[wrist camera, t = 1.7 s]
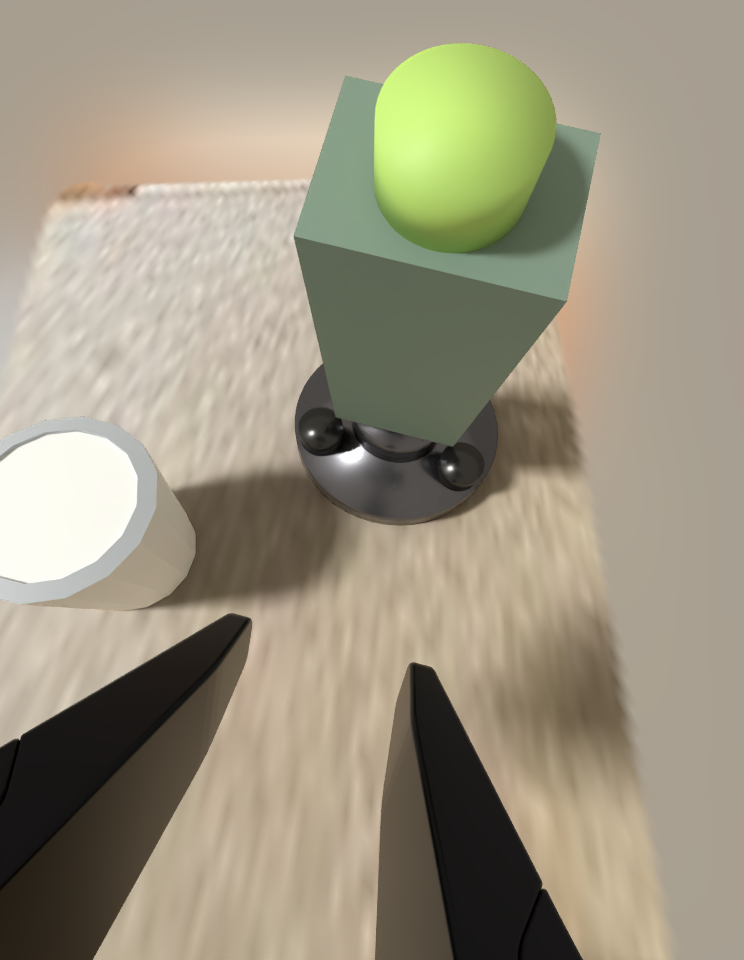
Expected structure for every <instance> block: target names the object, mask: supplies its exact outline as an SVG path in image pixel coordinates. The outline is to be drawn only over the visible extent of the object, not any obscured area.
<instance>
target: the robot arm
mask: <svg viewBox="0 0 744 960" xmlns="http://www.w3.org/2000/svg"><path fill="white" fill-rule="evenodd" d="M251 630H252V620H251V619H250V618H248V617H244V616H241V615H237V614H233V613H230V614H227V615H225V616H223V617H222V618H220V619H218V620H217V621H215V622H213V623H212V624H210V625H208V626H206V627H205V628H203V629H201V630H200V631H198V632H196V633H195V634H193V635H191V636H189V637H188V638H186V639H184V640H183V641H181V642H179V643H177V644H176V645H174V646H172V647H171V648H169V649H167V650H166V651H164V652H162V653H160V654H159V655H157V656H155V657H154V658H152V659H150V660H149V661H147V662H145V663H143V664H142V665H140V666H138V667H137V668H135V669H133V670H131V671H130V672H128V673H126V674H125V675H123V676H121V677H120V678H118V679H116V680H114V681H113V682H111V683H109V684H108V685H106V686H104V687H103V688H101V689H99V690H97V691H96V692H94V693H92V694H91V695H89V696H87V697H86V698H84V699H82V700H80V701H79V702H77V703H75V704H74V705H72V706H70V707H68V708H67V709H65V710H63V711H62V712H60V713H58V714H57V715H55V716H53V717H51V718H50V719H48V720H46V721H45V722H43V723H41V724H40V725H38V726H36V727H34V728H33V729H31V730H29V731H28V732H26V733H24V734H23V735H22V736H21V739H20V740H19V739H14V740H12V741H10V742H8V743H7V744H5V745H3V746H2V747H0V960H93V958H94V956H95V955H96V953H97V951H98V949H99V947H100V946H101V944H102V942H103V940H104V938H105V937H106V935H107V933H108V931H109V929H110V928H111V926H112V924H113V922H114V920H115V919H116V917H117V915H118V913H119V911H120V910H121V908H122V906H123V904H124V902H125V901H126V899H127V897H128V895H129V893H130V892H131V890H132V888H133V886H134V884H135V883H136V881H137V879H138V877H139V875H140V874H141V872H142V870H143V868H144V866H145V865H146V863H147V861H148V859H149V857H150V856H151V854H152V852H153V850H154V848H155V847H156V845H157V843H158V841H159V839H160V838H161V836H162V834H163V832H164V830H165V829H166V827H167V825H168V823H169V821H170V820H171V818H172V816H173V814H174V812H175V811H176V809H177V807H178V805H179V803H180V802H181V800H182V798H183V796H184V794H185V793H186V791H187V789H188V787H189V785H190V784H191V782H192V780H193V778H194V776H195V775H196V773H197V771H198V769H199V767H200V765H201V763H202V762H203V760H204V758H205V756H206V754H207V752H208V749H209V747H210V745H211V743H212V741H213V739H214V736H215V734H216V732H217V729H218V727H219V725H220V722H221V720H222V717H223V715H224V713H225V710H226V708H227V706H228V703H229V701H230V699H231V696H232V694H233V692H234V689H235V687H236V685H237V682H238V680H239V678H240V675H241V673H242V670H243V668H244V665H245V663H246V659H247V655H248V650H249V643H250V637H251ZM541 888H542V881H541V879H540V877H539V875H538V873H537V871H536V869H535V867H534V865H533V863H532V861H531V859H530V857H529V855H528V853H527V851H526V849H525V847H524V845H523V843H522V841H521V839H520V837H519V835H518V833H517V832H516V830H515V828H514V826H513V824H512V822H511V820H510V818H509V816H508V814H507V812H506V810H505V808H504V806H503V804H502V802H501V800H500V798H499V796H498V794H497V792H496V790H495V788H494V786H493V784H492V782H491V780H490V778H489V776H488V774H487V772H486V771H485V769H484V767H483V765H482V763H481V761H480V759H479V757H478V755H477V753H476V751H475V749H474V747H473V745H472V743H471V741H470V739H469V737H468V735H467V733H466V731H465V729H464V727H463V725H462V723H461V721H460V719H459V717H458V715H457V713H456V711H455V710H454V708H453V706H452V704H451V702H450V700H449V698H448V696H447V694H446V692H445V690H444V688H443V686H442V684H441V682H440V680H439V678H438V676H437V674H436V672H435V670H434V669H433V668H432V667H429V666H426V665H422V664H418V663H415V662H412V663H410V664H409V666H408V668H407V671H406V674H405V677H404V680H403V683H402V686H401V689H400V692H399V695H398V698H397V702H396V707H395V714H394V721H393V727H392V734H391V741H390V748H389V754H388V761H387V768H386V775H385V782H384V789H383V797H382V809H381V826H380V851H379V875H378V900H377V925H376V950H375V960H583V959H582V957H581V955H580V954H579V952H578V950H577V948H576V946H575V944H574V942H573V940H572V939H571V937H570V935H569V933H568V931H567V929H566V927H565V925H564V923H563V922H562V920H561V918H560V916H559V914H558V912H557V910H556V908H555V906H554V904H553V902H552V900H551V898H550V896H549V894H548V892H547V890H546V889H541Z"/></svg>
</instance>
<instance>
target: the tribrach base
mask: <svg viewBox="0 0 744 960" xmlns="http://www.w3.org/2000/svg"><path fill="white" fill-rule="evenodd" d="M295 433H296V439H297V445H298V450H299V455H300V458H301V461H302V464H303V466H304V468H305V470H306V472H307V474H308V476H309V477H310V479H311V480H312V482H313V483H314V485H315V486H316V487H317V488H318V489H319V490H320V492H321V493H322V494H323V495H324V496H325V497H326V498H328V499H329V500H330V501H331V502H332V503H334V504H335V505H336V506H338V507H340V508H341V509H343V510H344V511H346V512H348V513H350V514H352V515H354V516H356V517H359V518H362V519H365V520H368V521H371V522H375V523H381V524H387V525H413V524H418V523H423V522H427V521H430V520H433V519H436V518H439V517H441V516H443V515H445V514H447V513H449V512H451V511H453V510H454V509H456V508H457V507H458V506H460V505H461V504H462V503H463V502H465V501H466V500H467V499H468V498H469V497H470V496H471V495H472V493H473V492H474V491H475V490H476V488H477V487H478V486H479V485H480V483H481V482H482V481H483V479H484V478H485V476H486V474H487V473H488V471H489V469H490V467H491V465H492V462H493V460H494V457H495V453H496V448H497V439H498V430H497V421H496V416H495V412H494V409H493V406H492V404H491V401H490V400H489V401H488V403H487V404H486V405H485V406H484V408H483V409H482V410H481V412H480V413H479V414H478V415H477V417H476V418H475V419H474V420H473V422H472V423H471V424H470V426H469V427H468V428H467V429H466V431H465V432H464V433H463V434H462V436H461V437H460V438H459V440H458V441H457V442H456V443H455V445H454V446H453V447H452V446H448V445H444V444H440V443H436V442H432V441H428V440H424V439H420V438H416V437H412V436H408V435H404V434H400V433H397V432H393V431H389V430H385V429H381V428H377V427H373V426H369V425H365V424H361V423H357V422H353V421H349V420H345V419H341V418H337V417H336V416H335V412H334V408H333V403H332V399H331V395H330V390H329V386H328V382H327V377H326V373H325V369H324V364H322V365H321V366H320V367H319V368H318V369H317V370H316V371H315V372H314V373H313V374H312V376H311V377H310V378H309V380H308V381H307V383H306V384H305V386H304V388H303V390H302V392H301V395H300V397H299V400H298V404H297V407H296V414H295Z"/></svg>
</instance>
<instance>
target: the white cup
mask: <svg viewBox="0 0 744 960" xmlns="http://www.w3.org/2000/svg"><path fill="white" fill-rule="evenodd" d="M195 555H196V533H195V531H194V528H193V526H192V524H191V522H190V520H189V518H188V516H187V514H186V513H185V511H184V509H183V508H182V506H181V505H180V503H179V501H178V500H177V498H176V497H175V495H174V493H173V492H172V490H171V488H170V487H169V485H168V484H167V482H166V480H165V479H164V477H163V476H162V474H161V472H160V471H159V469H158V467H157V466H156V464H155V463H154V461H153V459H152V458H151V456H150V455H149V453H148V451H147V450H146V448H145V446H144V445H143V444H142V443H141V442H139V441H138V440H137V439H136V438H134V437H133V436H132V435H130V434H129V433H128V432H126V431H125V430H124V429H122V428H121V427H120V426H118V425H116V424H112V423H108V422H104V421H100V420H96V419H92V418H87V417H73V418H63V419H52V420H44V421H42V422H39V423H37V424H35V425H32V426H30V427H27V428H25V429H22V430H20V431H18V432H15V433H13V434H10V435H8V436H6V437H5V438H4V439H2V440H1V441H0V599H1V600H5V601H9V602H12V603H16V604H20V605H35V606H51V607H67V608H82V609H98V610H114V611H126V610H132V609H139V608H146V607H149V606H150V605H152V604H154V603H156V602H158V601H159V600H161V599H163V598H165V597H167V596H169V595H170V594H171V593H172V592H173V591H174V590H175V589H176V588H177V586H178V585H179V584H180V583H181V582H182V581H183V580H184V579H185V578H186V576H187V575H188V572H189V570H190V567H191V565H192V562H193V560H194V557H195Z"/></svg>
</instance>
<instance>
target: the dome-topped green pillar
mask: <svg viewBox="0 0 744 960" xmlns="http://www.w3.org/2000/svg"><path fill="white" fill-rule="evenodd" d="M599 139H600V133H596V132H592V131H588V130H583V129H579V128H574V127H570V126H565V125H561V124H557V123H556V114H555V108H554V105H553V102H552V99H551V97H550V95H549V93H548V91H547V89H546V87H545V86H544V84H543V83H542V81H541V80H540V79H539V78H538V76H537V75H536V74H535V73H534V72H533V71H532V70H531V69H530V68H528V67H527V66H526V65H525V64H524V63H522V62H521V61H519V60H518V59H516V58H514V57H513V56H511V55H509V54H507V53H505V52H502V51H500V50H497V49H494V48H491V47H487V46H483V45H477V44H467V43H456V44H446V45H440V46H436V47H433V48H429V49H426V50H424V51H421V52H419V53H417V54H415V55H413V56H412V57H410V58H409V59H407V60H406V61H404V62H403V63H402V64H400V65H399V66H398V67H397V68H396V69H395V70H394V71H393V72H392V73H391V75H390V76H389V77H388V78H387V80H386V81H385V83H384V84H380V83H375V82H371V81H367V80H362V79H358V78H353V77H349V76H345V78H344V81H343V84H342V88H341V91H340V94H339V97H338V100H337V103H336V106H335V109H334V113H333V116H332V119H331V122H330V125H329V128H328V131H327V134H326V137H325V141H324V143H323V146H322V150H321V153H320V156H319V159H318V162H317V165H316V168H315V171H314V174H313V178H312V181H311V184H310V187H309V190H308V193H307V196H306V199H305V202H304V206H303V209H302V212H301V215H300V218H299V221H298V224H297V227H296V230H295V233H294V240H295V244H296V248H297V253H298V257H299V261H300V265H301V270H302V274H303V278H304V283H305V287H306V291H307V296H308V300H309V304H310V309H311V313H312V317H313V321H314V326H315V330H316V334H317V339H318V343H319V347H320V352H321V356H322V360H323V364H324V369H325V373H326V377H327V382H328V386H329V390H330V395H331V399H332V403H333V408H334V412H335V416H336V417H337V418H341V419H345V420H349V421H353V422H357V423H361V424H365V425H369V426H373V427H377V428H381V429H385V430H389V431H393V432H397V433H400V434H404V435H408V436H412V437H416V438H420V439H424V440H428V441H432V442H436V443H440V444H444V445H448V446H452V447H453V446H454V445H455V443H456V442H457V441H458V440H459V438H460V437H461V436H462V434H463V433H464V432H465V431H466V429H467V428H468V427H469V426H470V424H471V423H472V422H473V420H474V419H475V418H476V417H477V415H478V414H479V413H480V412H481V410H482V409H483V408H484V406H485V405H486V404H487V403H488V401H489V400H490V399H491V397H492V396H493V395H494V394H495V392H496V391H497V390H498V389H499V387H500V386H501V385H502V383H503V382H504V381H505V380H506V378H507V377H508V376H509V375H510V373H511V372H512V371H513V369H514V368H515V367H516V366H517V364H518V363H519V362H520V361H521V359H522V358H523V357H524V355H525V354H526V353H527V352H528V350H529V349H530V348H531V346H532V345H533V344H534V343H535V341H536V340H537V339H538V338H539V336H540V335H541V334H542V332H543V331H544V330H545V329H546V327H547V326H548V325H549V324H550V322H551V321H552V320H553V318H554V317H555V316H556V315H557V313H558V312H559V311H560V310H561V308H562V307H563V305H564V304H565V303H566V302H567V298H568V293H569V288H570V283H571V278H572V273H573V268H574V263H575V258H576V253H577V249H578V244H579V239H580V234H581V229H582V224H583V218H584V213H585V209H586V203H587V199H588V194H589V189H590V184H591V179H592V174H593V169H594V164H595V159H596V154H597V149H598V144H599Z"/></svg>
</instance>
